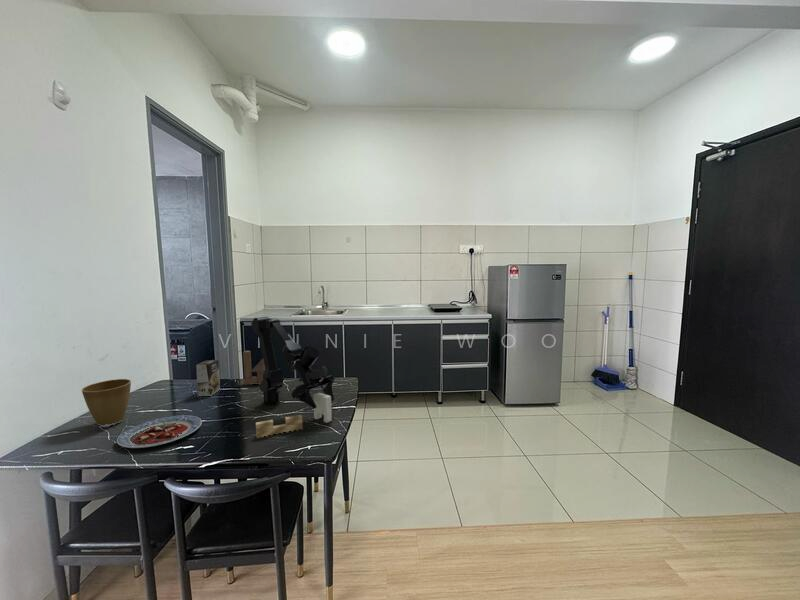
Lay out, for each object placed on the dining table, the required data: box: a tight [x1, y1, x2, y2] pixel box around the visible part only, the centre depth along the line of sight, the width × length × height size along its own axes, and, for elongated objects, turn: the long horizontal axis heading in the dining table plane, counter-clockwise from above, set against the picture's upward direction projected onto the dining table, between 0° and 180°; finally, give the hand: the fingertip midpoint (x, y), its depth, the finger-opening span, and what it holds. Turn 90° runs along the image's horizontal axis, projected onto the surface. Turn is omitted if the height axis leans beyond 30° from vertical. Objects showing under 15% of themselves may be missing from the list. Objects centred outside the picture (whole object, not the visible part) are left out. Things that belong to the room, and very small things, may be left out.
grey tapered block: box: [312, 392, 333, 423], centre depth 139 cm, size 8×2×10 cm, turn 55°
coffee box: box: [195, 359, 221, 397], centre depth 171 cm, size 9×6×16 cm
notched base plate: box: [255, 414, 304, 439], centre depth 128 cm, size 16×2×5 cm, turn 115°
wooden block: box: [242, 350, 265, 385], centre depth 185 cm, size 4×11×18 cm, turn 95°
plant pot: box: [81, 378, 132, 425], centre depth 138 cm, size 15×15×16 cm
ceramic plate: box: [116, 414, 203, 449], centre depth 128 cm, size 26×26×3 cm
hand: (324, 404), depth 138 cm, fingers open, 9 cm apart
